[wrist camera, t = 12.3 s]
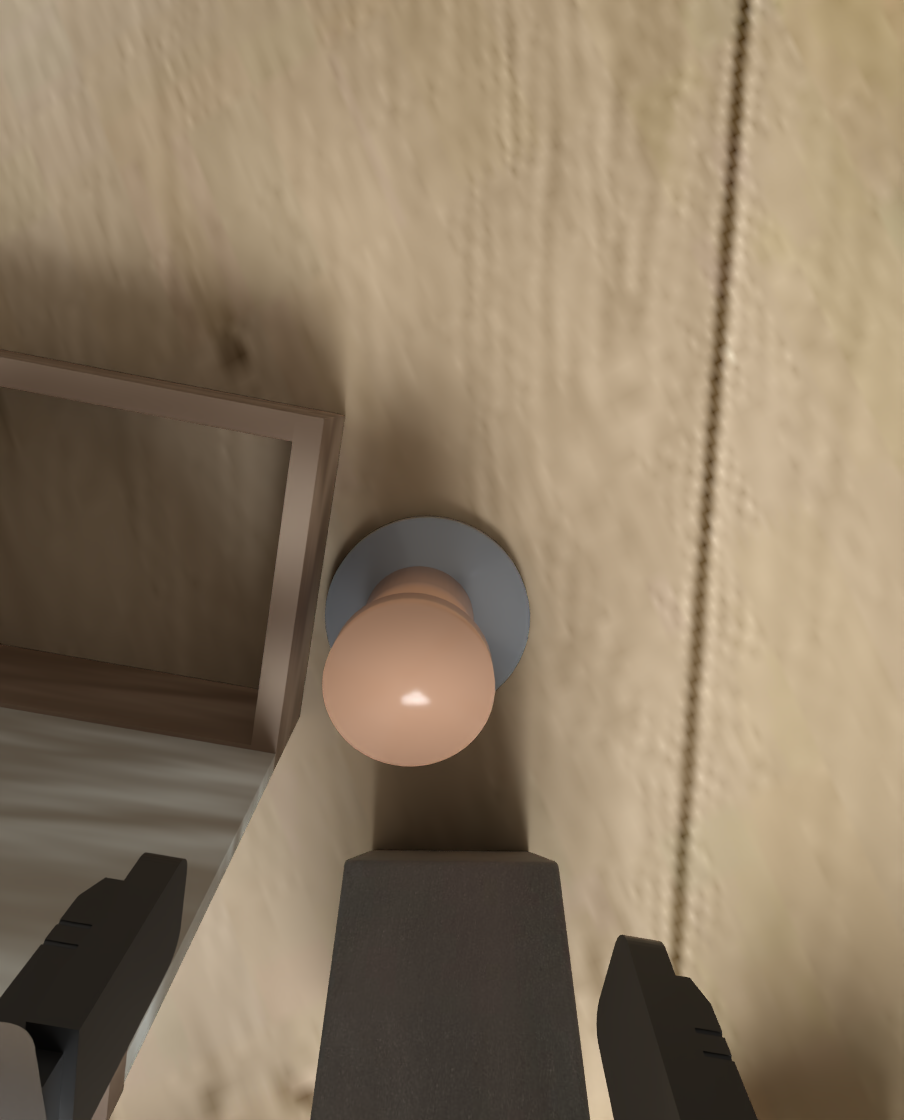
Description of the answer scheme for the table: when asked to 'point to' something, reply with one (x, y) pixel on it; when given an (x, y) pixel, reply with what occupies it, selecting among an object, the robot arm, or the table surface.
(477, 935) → the planter
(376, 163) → the table surface
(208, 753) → the hinged wooden box
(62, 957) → the robot arm
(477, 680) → the round cabinet knob
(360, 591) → the saucer
